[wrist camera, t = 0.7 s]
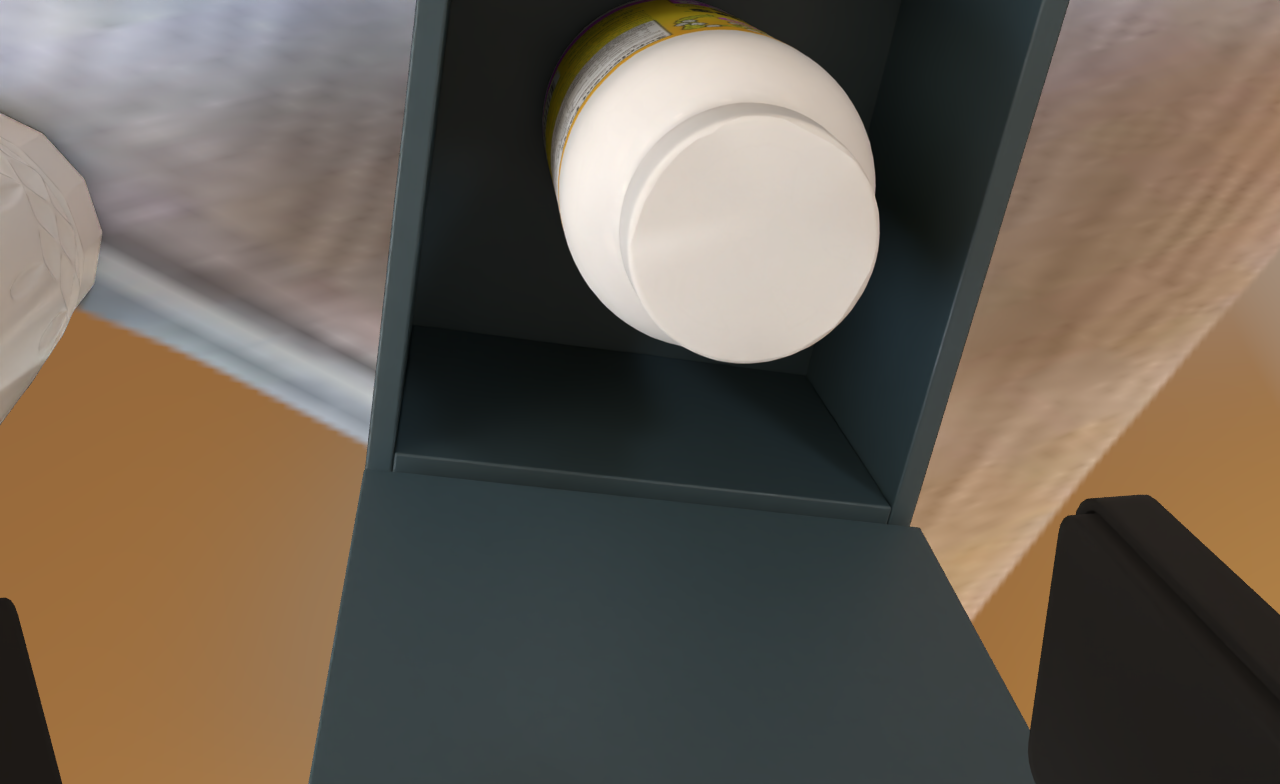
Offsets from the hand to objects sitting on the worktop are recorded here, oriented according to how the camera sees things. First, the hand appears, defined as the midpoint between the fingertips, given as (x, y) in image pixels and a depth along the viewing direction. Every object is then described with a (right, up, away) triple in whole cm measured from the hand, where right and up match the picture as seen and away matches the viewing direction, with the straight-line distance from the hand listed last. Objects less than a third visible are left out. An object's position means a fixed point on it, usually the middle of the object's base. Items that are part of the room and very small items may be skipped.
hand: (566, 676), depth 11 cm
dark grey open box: (+1, +10, +23) cm, 25 cm away
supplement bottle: (+1, +10, +23) cm, 25 cm away
